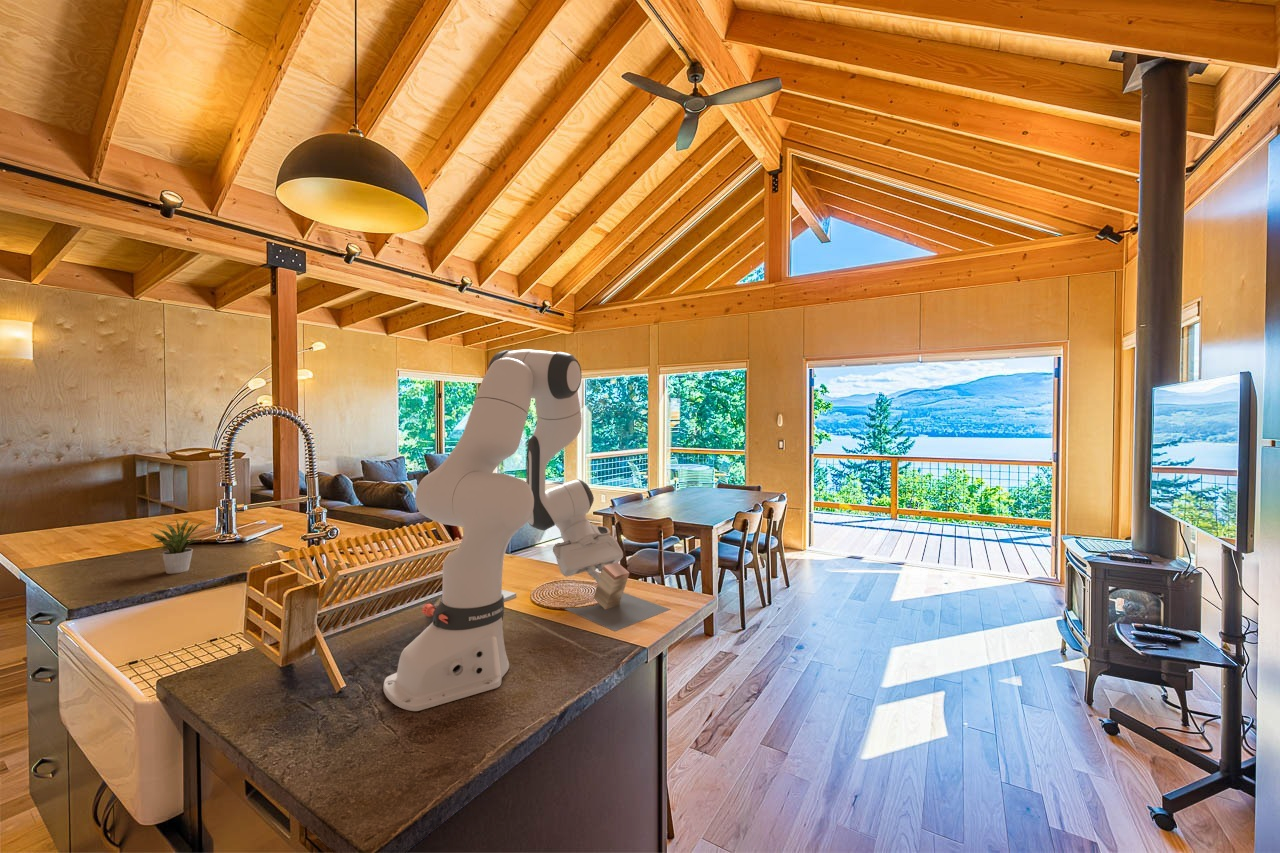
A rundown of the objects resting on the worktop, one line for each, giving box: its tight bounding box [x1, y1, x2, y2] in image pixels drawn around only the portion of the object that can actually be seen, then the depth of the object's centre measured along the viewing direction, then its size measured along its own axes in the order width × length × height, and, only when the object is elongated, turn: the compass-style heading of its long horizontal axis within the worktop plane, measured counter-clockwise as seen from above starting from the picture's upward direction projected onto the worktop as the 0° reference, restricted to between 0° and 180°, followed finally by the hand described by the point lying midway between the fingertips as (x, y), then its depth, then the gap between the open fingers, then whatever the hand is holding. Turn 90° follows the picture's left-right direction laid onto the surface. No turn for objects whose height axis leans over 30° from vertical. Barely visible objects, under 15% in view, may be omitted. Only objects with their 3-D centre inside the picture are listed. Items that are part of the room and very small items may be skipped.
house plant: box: [149, 519, 212, 575], centre depth 160 cm, size 14×14×16 cm
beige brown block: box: [593, 562, 630, 609], centre depth 134 cm, size 5×5×10 cm
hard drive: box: [502, 589, 517, 603], centre depth 138 cm, size 2×8×12 cm
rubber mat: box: [564, 592, 671, 632], centre depth 132 cm, size 20×19×1 cm
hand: (603, 581), depth 136 cm, fingers closed, pressing on beige brown block
